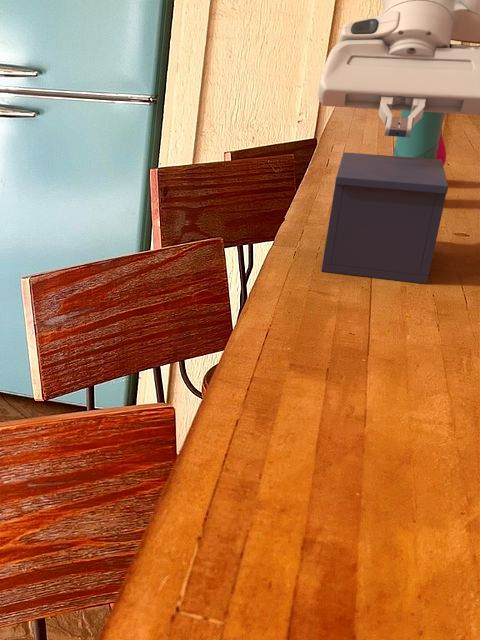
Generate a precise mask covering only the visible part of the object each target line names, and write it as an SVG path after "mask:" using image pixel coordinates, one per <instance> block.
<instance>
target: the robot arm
mask: <svg viewBox="0 0 480 640" xmlns="http://www.w3.org/2000/svg"><path fill="white" fill-rule="evenodd" d="M382 8H383V11H382V13H381V14H380V15H376V16H373V17H368V18H364V19H359V20H355V21H349V22H346V23H345V24H343V26H341V27H342V28H341V30H340V34H339V37H338V42H337V44H335V45H334V46H333V47H332V49H331V50H330V51H329V53H328V55H327V57H326V60H325V63H324V65H323V68H322V69H323V70H322V72H321V76H320V80H319V84H318V93H317V99H318V101H319V103H320V104H321V105H322V106H323V107H335V108H350V109H351V108H354V109H370V110H371V109H372V110H378V114H377V115H378V116H379V118H380V120H381V122H382V124H383V125H384V126H385V127H384V128H385V129H384V135H383V136H384V137H396V138H397V137H410V133H411V129H412V127H413V126H414V125H415V124H416V123H417V122H418V121H419V120H420V119H421V118H422V116H423V112H436V113H448V114H453V115H455V114H456V115H473V116H480V0H382ZM452 41H454V42H460V43H467V44H459V43H458V44H457V43H452ZM469 44H475V45H469ZM401 110H402V111H411V114H410V115H409V116H408V118H402V117H400V116H394V115H393V113H392V111H401Z"/></svg>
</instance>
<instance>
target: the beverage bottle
mask: <svg viewBox="0 0 480 640" xmlns="http://www.w3.org/2000/svg"><path fill="white" fill-rule="evenodd" d="M410 114H411V111H402V110H400V116H399V117H402V118H408V116H409V115H410ZM443 117H444V113H436V112H423V116H422V118H421V119H420V120H419V121H418V122H417V123H416V124H415V125H414V126H413V127H412V129H411V133H410V137H397V136H396V139H395V141H394V147H393V153H392V156H399V157H413V158H426V159H436V157H437V156H436V155H438V154H437V150H438V144H439V140H440V134H441V135H442V136H443V131H442V132H441V127H442V128H443V124H442V122H443V123H444V120H443ZM444 118H445V117H444Z"/></svg>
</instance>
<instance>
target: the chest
mask: <svg viewBox="0 0 480 640" xmlns="http://www.w3.org/2000/svg"><path fill="white" fill-rule="evenodd" d="M446 197H447V194H441V193H430V192H418V191H407V190H395V189H383V188H372V187H360V186H349V185H337V184H335V183H334V188H333V195H332V201H331V207H330V214H329V220H328V226H327V232H326V239H325V245H324V250H323V251H324V252H323V258H322V263H321V269H320V270H321V271H320V272H323V273H329V274H330V273H331V274H338V275H348V276H356V277H363V278H373V279H381V280H390V281H397V282H406V283H414V284H423V285H427V284H428V281H429V275H430V272H431V267H432V262H433V258H434V253H435V249H436V244H437V239H438V234H439V230H440V225H441V222H442V221H441V220H442V217H443V211H444V206H445V202H446Z"/></svg>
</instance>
